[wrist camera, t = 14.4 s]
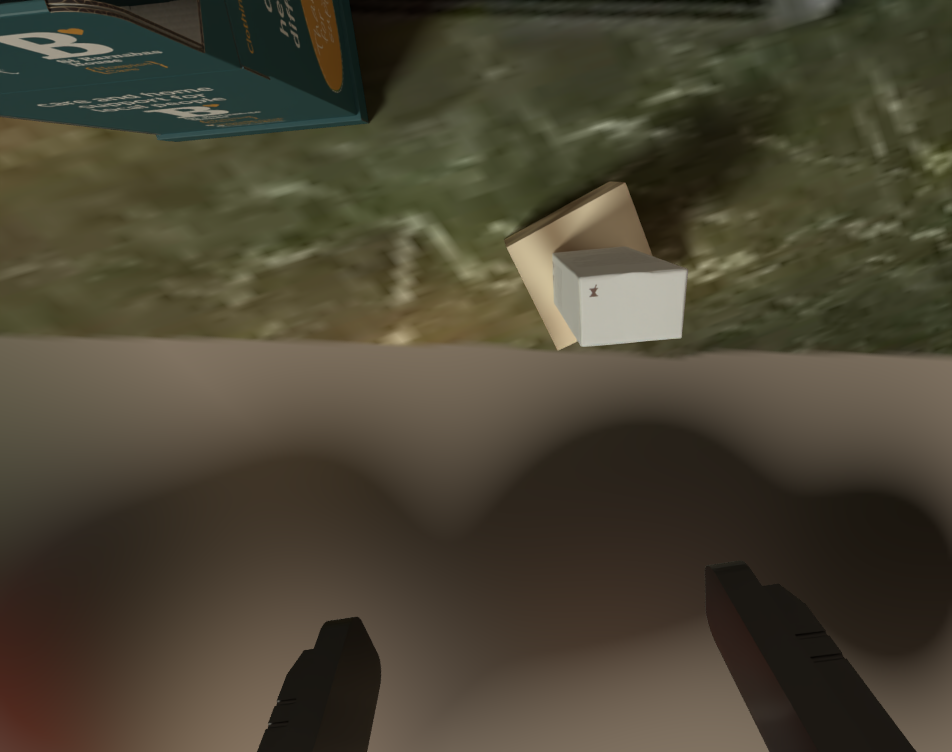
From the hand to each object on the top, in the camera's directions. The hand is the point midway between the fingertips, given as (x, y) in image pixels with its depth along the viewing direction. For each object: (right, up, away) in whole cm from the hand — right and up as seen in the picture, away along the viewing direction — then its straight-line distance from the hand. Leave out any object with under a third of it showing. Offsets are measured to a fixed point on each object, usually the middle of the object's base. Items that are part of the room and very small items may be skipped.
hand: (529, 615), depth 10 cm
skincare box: (+8, +14, +26) cm, 31 cm away
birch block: (+8, +16, +31) cm, 35 cm away
